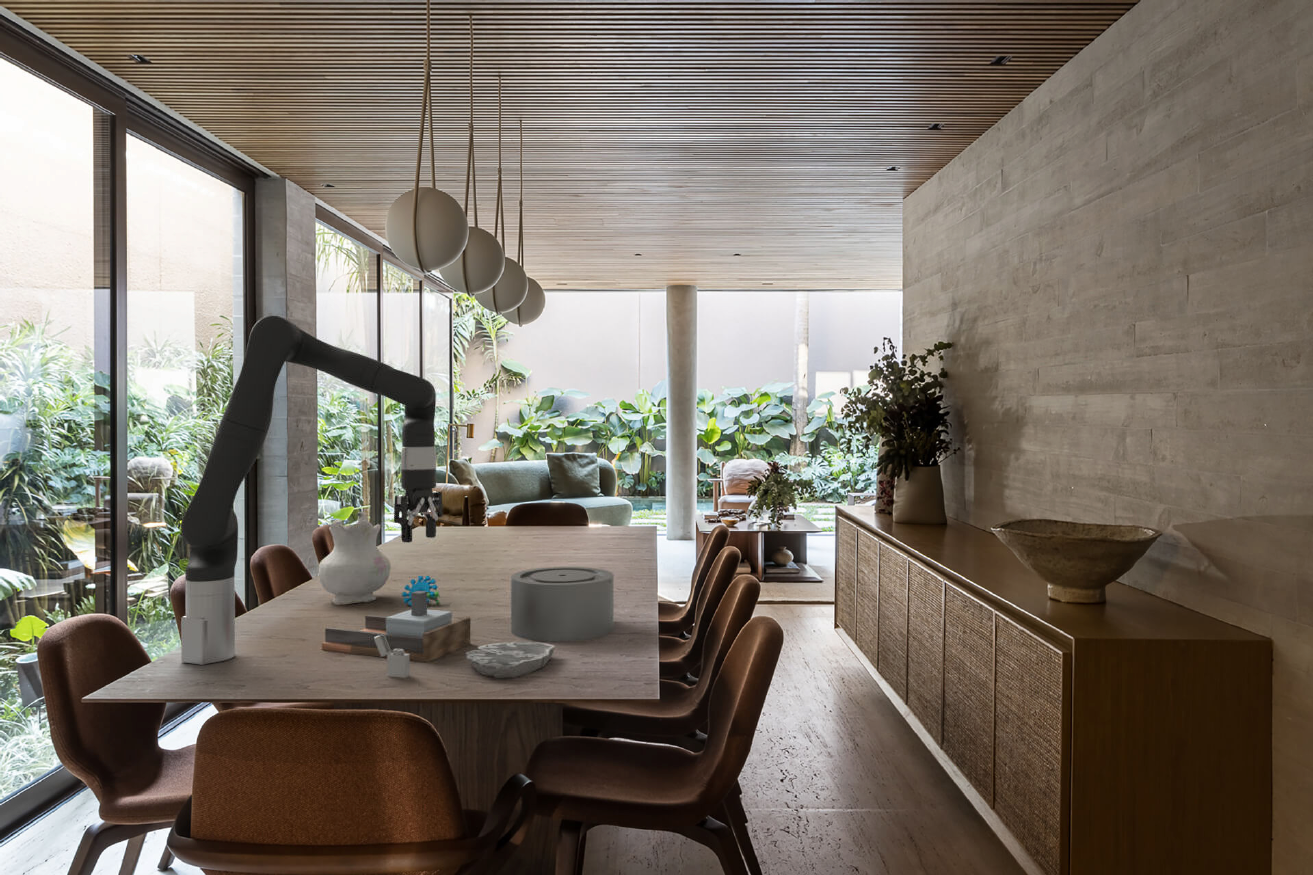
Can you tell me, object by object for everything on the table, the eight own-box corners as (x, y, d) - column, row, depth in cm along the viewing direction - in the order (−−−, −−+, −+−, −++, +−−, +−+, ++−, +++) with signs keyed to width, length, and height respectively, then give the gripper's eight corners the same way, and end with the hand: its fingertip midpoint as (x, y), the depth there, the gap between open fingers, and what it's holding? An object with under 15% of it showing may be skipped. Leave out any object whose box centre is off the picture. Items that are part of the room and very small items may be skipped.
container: (589, 646, 184) (589, 587, 184) (491, 637, 192) (491, 581, 191) (628, 621, 207) (628, 569, 207) (539, 614, 215) (539, 564, 215)
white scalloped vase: (322, 598, 241) (315, 515, 240) (391, 588, 248) (384, 507, 247) (320, 613, 221) (312, 523, 220) (395, 602, 228) (387, 514, 227)
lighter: (410, 675, 161) (410, 635, 161) (405, 677, 160) (405, 637, 159) (378, 672, 163) (378, 632, 163) (373, 675, 161) (373, 634, 161)
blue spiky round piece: (394, 599, 226) (413, 570, 232) (402, 611, 230) (421, 582, 236) (426, 608, 222) (445, 578, 228) (434, 620, 226) (452, 590, 232)
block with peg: (424, 649, 174) (424, 598, 174) (385, 644, 178) (385, 594, 178) (451, 638, 184) (451, 589, 183) (414, 634, 187) (414, 586, 187)
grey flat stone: (498, 651, 180) (498, 637, 180) (566, 658, 174) (566, 645, 174) (444, 675, 162) (444, 661, 162) (518, 685, 156) (518, 670, 156)
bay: (427, 662, 170) (427, 633, 170) (322, 649, 180) (321, 622, 180) (470, 643, 185) (470, 617, 185) (371, 632, 195) (371, 607, 195)
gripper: (412, 468, 173) (413, 544, 173) (451, 466, 186) (452, 536, 186) (383, 468, 175) (384, 543, 176) (424, 465, 189) (424, 535, 189)
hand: (419, 539), depth 181 cm, fingers open, 8 cm apart
